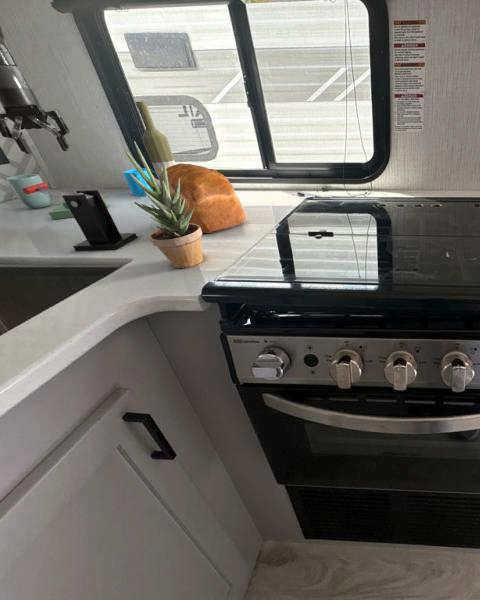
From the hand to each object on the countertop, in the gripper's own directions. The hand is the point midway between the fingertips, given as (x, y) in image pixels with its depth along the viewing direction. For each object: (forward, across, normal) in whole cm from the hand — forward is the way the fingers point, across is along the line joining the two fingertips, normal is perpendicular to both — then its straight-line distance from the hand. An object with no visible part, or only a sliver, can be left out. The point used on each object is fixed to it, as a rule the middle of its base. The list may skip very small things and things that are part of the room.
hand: (47, 152), depth 97 cm
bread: (+18, -37, +29) cm, 51 cm away
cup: (+18, +16, -17) cm, 30 cm away
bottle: (+18, -27, -6) cm, 33 cm away
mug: (+18, -15, -18) cm, 30 cm away
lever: (+7, -10, +35) cm, 37 cm away
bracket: (+18, -14, +36) cm, 43 cm away
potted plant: (+18, -34, +59) cm, 71 cm away
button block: (+18, 0, -1) cm, 18 cm away
